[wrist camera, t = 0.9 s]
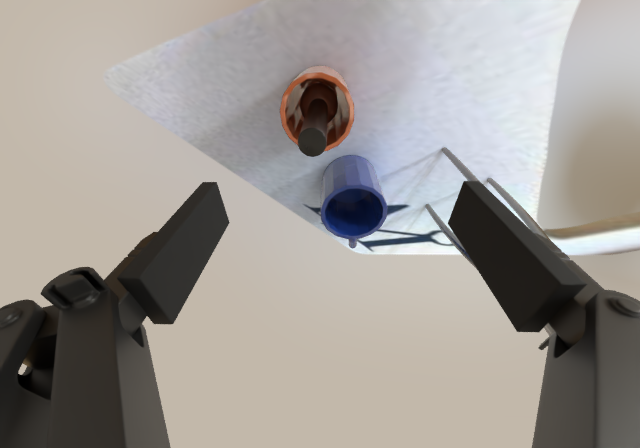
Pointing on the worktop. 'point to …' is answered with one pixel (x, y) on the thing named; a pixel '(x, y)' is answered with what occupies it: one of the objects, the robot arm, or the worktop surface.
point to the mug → (352, 199)
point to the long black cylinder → (316, 117)
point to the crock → (292, 112)
